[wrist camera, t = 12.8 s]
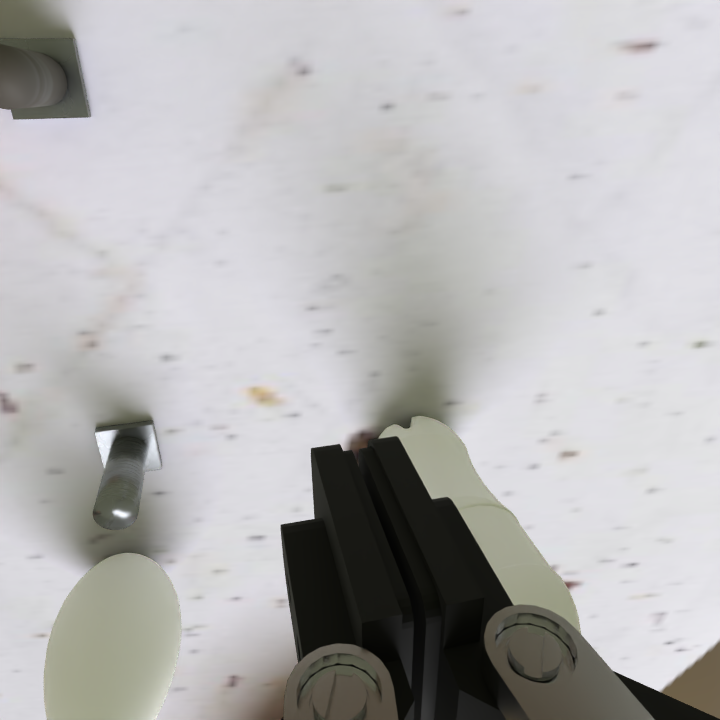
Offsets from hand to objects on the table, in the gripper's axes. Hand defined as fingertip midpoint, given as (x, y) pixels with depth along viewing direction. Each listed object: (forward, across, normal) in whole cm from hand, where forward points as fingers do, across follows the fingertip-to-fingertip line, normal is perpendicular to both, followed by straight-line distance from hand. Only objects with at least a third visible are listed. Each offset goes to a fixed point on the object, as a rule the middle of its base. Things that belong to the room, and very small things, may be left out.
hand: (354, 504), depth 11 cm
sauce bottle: (+27, +12, +25) cm, 39 cm away
